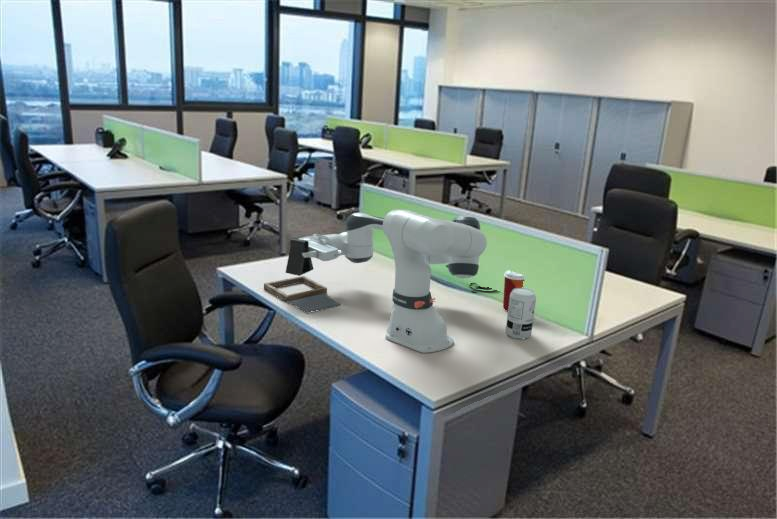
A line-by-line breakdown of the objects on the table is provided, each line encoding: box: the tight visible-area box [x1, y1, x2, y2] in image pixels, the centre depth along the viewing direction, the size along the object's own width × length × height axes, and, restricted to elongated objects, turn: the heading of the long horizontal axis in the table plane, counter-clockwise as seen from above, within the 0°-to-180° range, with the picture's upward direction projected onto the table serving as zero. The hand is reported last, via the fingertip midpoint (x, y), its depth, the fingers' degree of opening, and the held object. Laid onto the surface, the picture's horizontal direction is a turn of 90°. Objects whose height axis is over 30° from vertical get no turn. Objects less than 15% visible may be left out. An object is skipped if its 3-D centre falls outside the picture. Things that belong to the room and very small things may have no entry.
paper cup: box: [502, 269, 526, 312], centre depth 212 cm, size 8×8×14 cm
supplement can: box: [505, 287, 537, 340], centre depth 191 cm, size 8×8×15 cm
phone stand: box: [285, 237, 314, 277], centre depth 214 cm, size 9×6×12 cm, turn 152°
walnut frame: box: [263, 275, 328, 303], centre depth 221 cm, size 16×17×2 cm
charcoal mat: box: [288, 294, 342, 314], centre depth 210 cm, size 12×14×1 cm
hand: (297, 252), depth 213 cm, fingers closed on phone stand, 6 cm apart
